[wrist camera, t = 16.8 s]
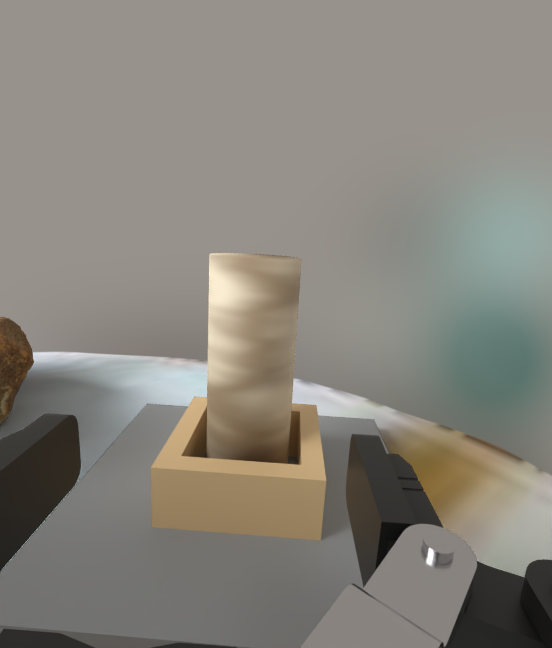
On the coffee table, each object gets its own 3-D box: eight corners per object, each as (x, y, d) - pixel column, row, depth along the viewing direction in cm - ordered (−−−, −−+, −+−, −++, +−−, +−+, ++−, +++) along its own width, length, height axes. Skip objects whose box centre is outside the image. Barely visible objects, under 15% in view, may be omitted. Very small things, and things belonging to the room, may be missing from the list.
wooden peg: (197, 506, 22) (199, 256, 19) (214, 457, 27) (219, 251, 24) (285, 513, 22) (302, 262, 19) (286, 462, 27) (300, 256, 24)
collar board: (-39, 645, 15) (-55, 544, 14) (147, 416, 35) (146, 366, 34) (476, 692, 15) (499, 590, 14) (372, 432, 34) (378, 381, 33)
